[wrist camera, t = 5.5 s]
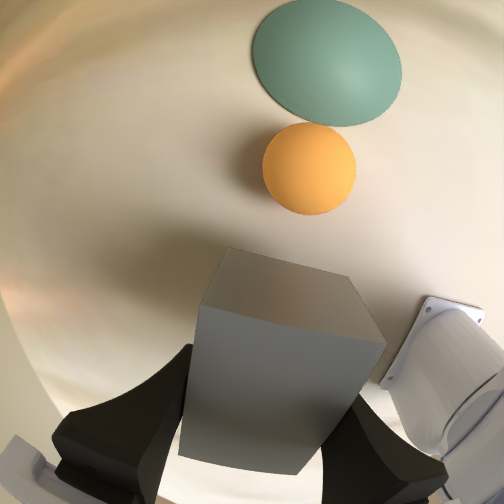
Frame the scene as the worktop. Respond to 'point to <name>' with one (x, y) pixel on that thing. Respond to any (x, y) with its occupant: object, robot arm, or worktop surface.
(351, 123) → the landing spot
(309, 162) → the ball
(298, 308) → the grey squared block
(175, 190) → the worktop surface
